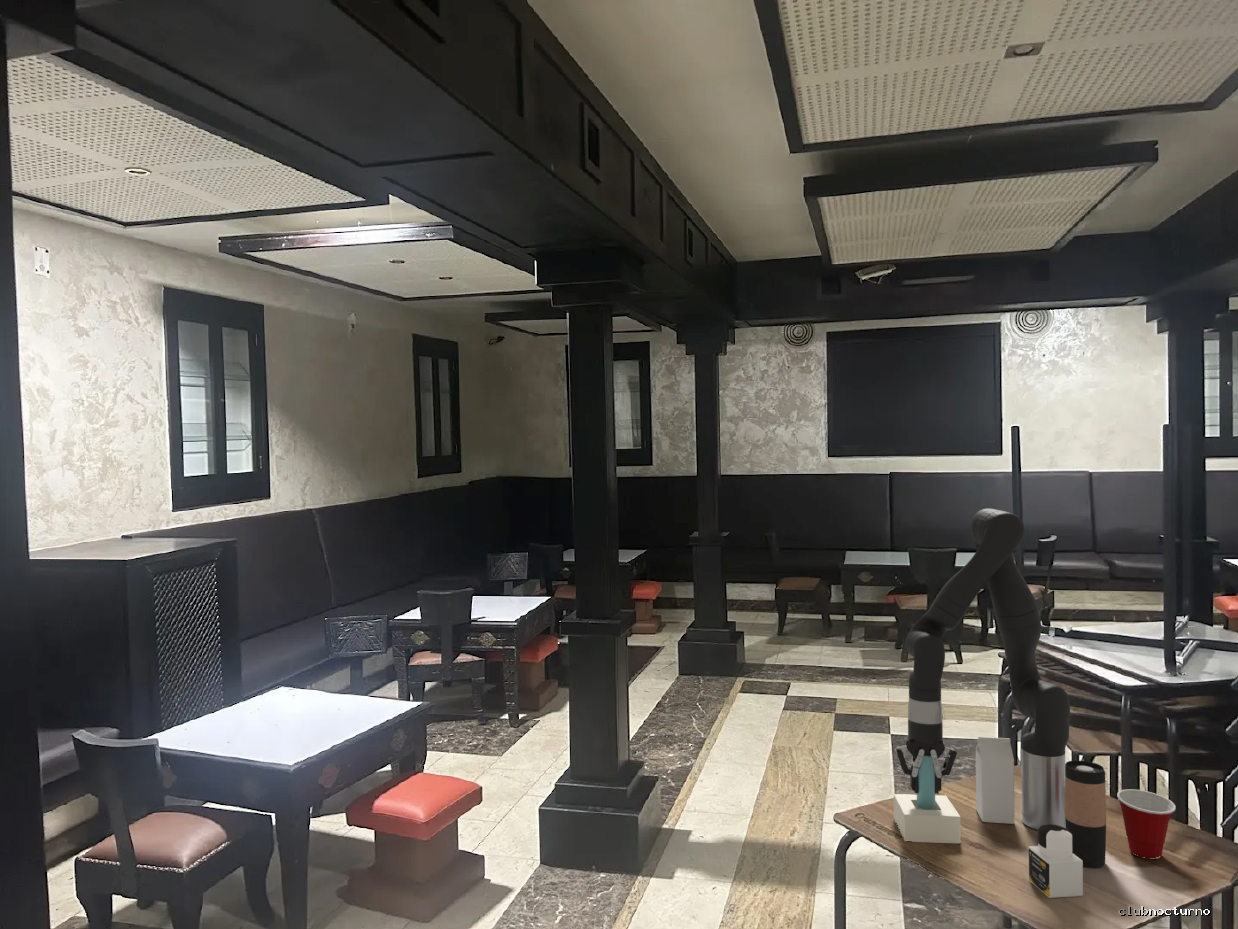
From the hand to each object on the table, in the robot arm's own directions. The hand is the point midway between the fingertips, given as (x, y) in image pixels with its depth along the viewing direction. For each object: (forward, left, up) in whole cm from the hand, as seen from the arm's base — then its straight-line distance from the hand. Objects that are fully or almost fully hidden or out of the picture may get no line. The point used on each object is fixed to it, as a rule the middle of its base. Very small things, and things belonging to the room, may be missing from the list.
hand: (925, 792), depth 197 cm
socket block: (0, 0, -9) cm, 9 cm away
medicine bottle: (-19, +25, -9) cm, 33 cm away
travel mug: (-30, +12, -9) cm, 34 cm away
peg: (0, 0, -3) cm, 3 cm away
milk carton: (-18, -9, -9) cm, 22 cm away
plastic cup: (-44, +8, -9) cm, 46 cm away
